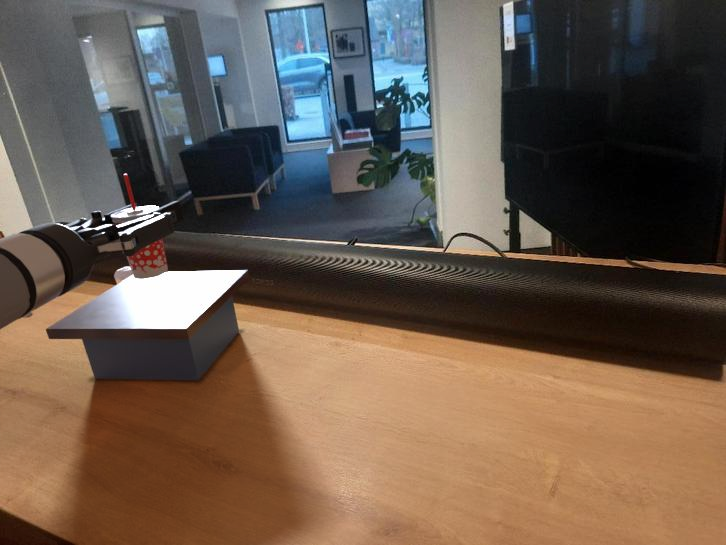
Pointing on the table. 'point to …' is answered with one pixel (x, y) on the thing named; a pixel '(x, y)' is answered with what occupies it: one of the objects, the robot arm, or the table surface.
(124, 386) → the table surface
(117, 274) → the milkshake
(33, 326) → the table surface
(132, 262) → the beverage cup
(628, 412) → the table surface
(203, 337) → the blue box
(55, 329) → the board
